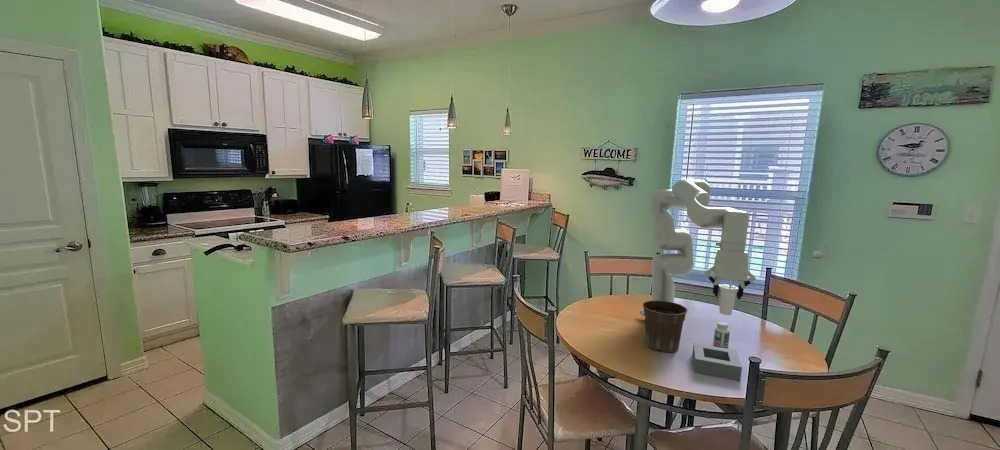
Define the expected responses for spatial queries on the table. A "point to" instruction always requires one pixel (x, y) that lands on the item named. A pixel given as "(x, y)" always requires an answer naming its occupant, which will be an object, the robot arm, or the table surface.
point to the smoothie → (727, 298)
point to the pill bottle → (721, 334)
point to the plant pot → (663, 324)
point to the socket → (716, 362)
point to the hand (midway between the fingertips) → (727, 296)
